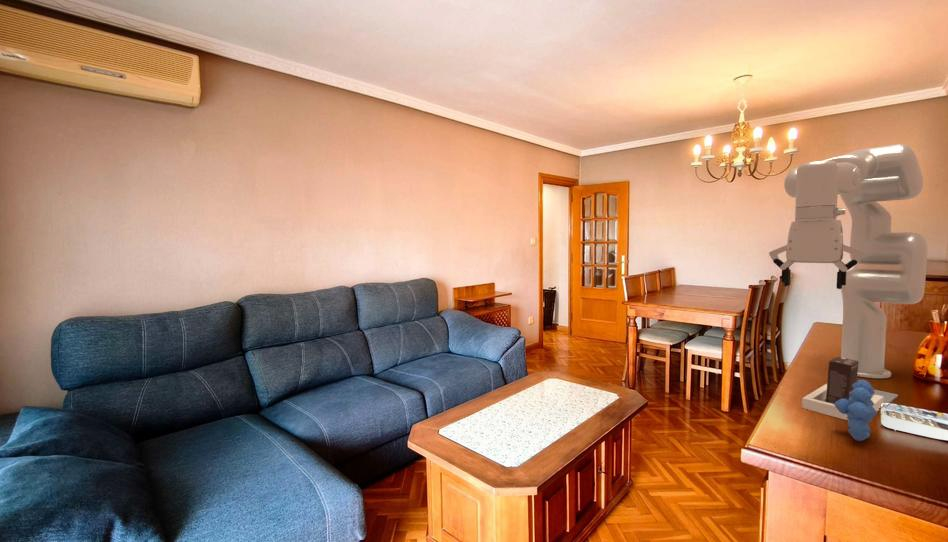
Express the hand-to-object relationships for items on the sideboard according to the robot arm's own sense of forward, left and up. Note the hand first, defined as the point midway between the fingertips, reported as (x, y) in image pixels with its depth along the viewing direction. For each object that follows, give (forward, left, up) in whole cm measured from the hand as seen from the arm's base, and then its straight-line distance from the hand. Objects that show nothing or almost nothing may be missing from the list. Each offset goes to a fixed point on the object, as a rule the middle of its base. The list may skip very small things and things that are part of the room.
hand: (812, 287), depth 97 cm
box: (-7, +4, -30) cm, 31 cm away
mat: (-22, +4, -30) cm, 38 cm away
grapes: (+8, +10, -30) cm, 33 cm away
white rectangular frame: (-9, +4, -30) cm, 32 cm away
